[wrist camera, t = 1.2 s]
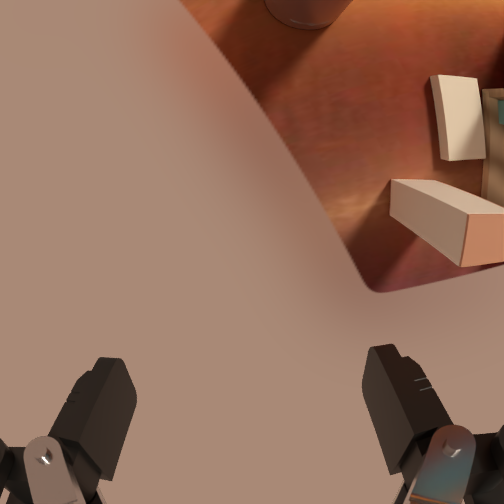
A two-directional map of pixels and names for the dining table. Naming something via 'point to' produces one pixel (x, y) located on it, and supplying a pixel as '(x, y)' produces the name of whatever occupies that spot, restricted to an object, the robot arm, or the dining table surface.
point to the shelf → (493, 148)
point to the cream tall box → (450, 220)
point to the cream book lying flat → (458, 117)
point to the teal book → (501, 111)
